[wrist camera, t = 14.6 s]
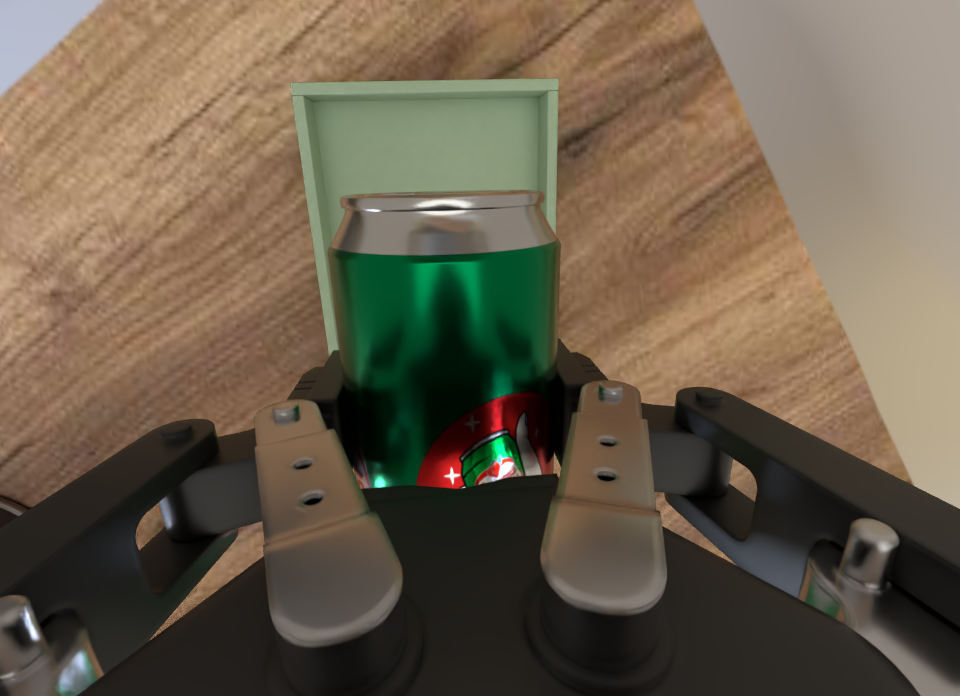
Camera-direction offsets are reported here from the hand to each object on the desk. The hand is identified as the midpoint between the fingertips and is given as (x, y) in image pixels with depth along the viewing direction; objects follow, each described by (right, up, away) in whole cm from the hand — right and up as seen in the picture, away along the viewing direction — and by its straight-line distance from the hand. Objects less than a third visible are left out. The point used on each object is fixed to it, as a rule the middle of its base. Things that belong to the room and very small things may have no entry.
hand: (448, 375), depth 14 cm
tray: (-2, +7, +17) cm, 19 cm away
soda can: (0, -7, 0) cm, 7 cm away
